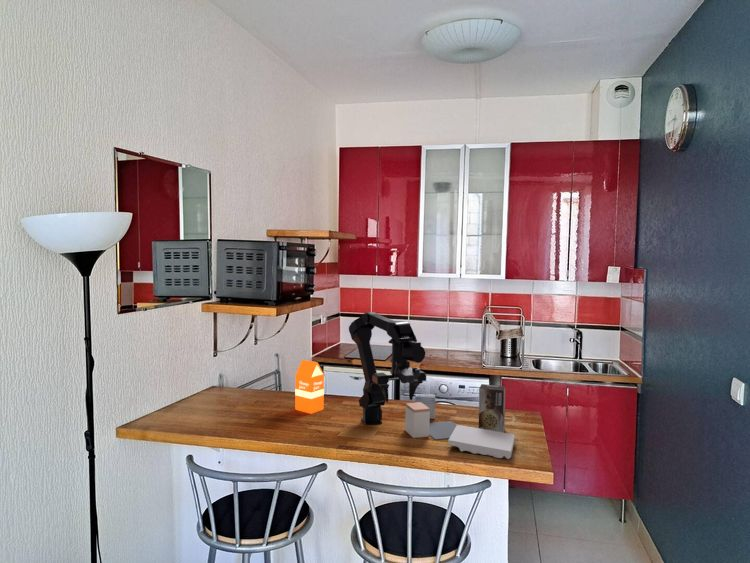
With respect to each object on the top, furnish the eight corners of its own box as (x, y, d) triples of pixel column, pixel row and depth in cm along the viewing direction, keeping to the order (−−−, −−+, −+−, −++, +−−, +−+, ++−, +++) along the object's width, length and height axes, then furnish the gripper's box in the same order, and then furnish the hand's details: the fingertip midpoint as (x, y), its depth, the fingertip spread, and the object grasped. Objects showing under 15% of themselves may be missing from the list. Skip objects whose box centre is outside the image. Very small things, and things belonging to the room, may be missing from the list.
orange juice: (308, 405, 215) (308, 358, 214) (323, 409, 210) (324, 361, 208) (294, 409, 208) (295, 361, 207) (310, 413, 203) (311, 364, 202)
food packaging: (514, 443, 176) (456, 433, 182) (514, 434, 175) (457, 424, 182) (510, 461, 161) (447, 449, 168) (510, 451, 161) (448, 440, 168)
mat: (435, 440, 177) (435, 439, 177) (417, 424, 193) (417, 424, 193) (471, 436, 182) (471, 435, 182) (450, 421, 197) (450, 421, 197)
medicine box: (434, 415, 204) (435, 394, 203) (434, 419, 200) (435, 397, 199) (414, 414, 205) (415, 393, 204) (414, 418, 200) (414, 396, 200)
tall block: (413, 438, 179) (414, 409, 179) (405, 430, 187) (405, 403, 186) (429, 436, 181) (429, 408, 180) (420, 428, 189) (420, 402, 188)
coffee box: (504, 428, 190) (506, 385, 189) (503, 434, 184) (504, 390, 183) (479, 425, 193) (481, 383, 192) (477, 431, 187) (479, 387, 186)
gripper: (384, 363, 170) (383, 410, 171) (434, 360, 176) (433, 405, 177) (372, 357, 180) (371, 400, 181) (419, 354, 187) (418, 396, 188)
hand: (399, 401), depth 181 cm, fingers open, 9 cm apart
